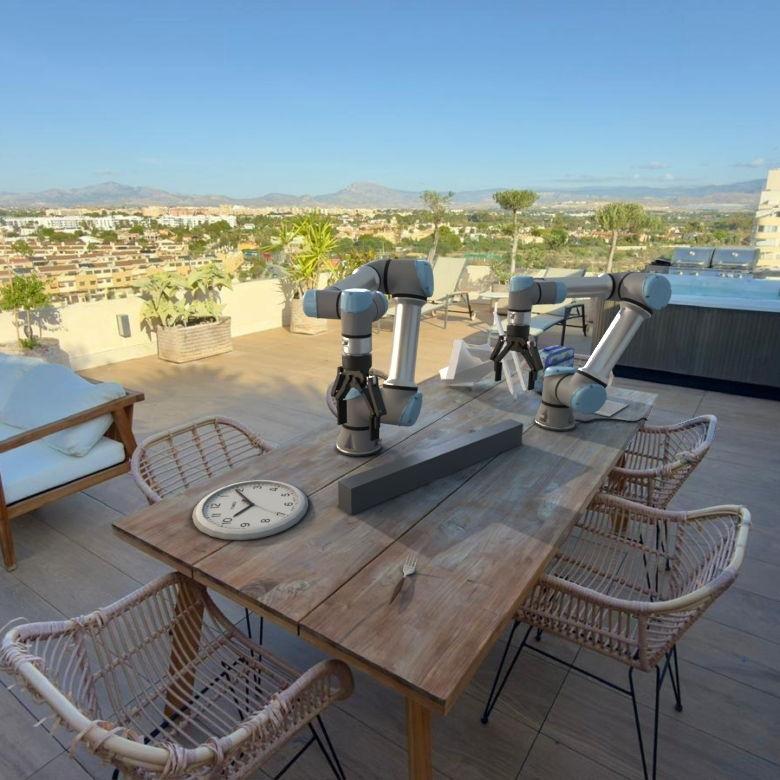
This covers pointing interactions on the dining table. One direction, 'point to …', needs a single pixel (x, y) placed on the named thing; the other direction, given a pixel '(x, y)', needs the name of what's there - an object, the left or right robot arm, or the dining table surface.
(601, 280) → the right robot arm
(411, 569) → the fork
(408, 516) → the dining table surface
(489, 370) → the white plastic object
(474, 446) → the bar
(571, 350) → the lunch box
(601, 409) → the invitation card
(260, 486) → the wall clock
